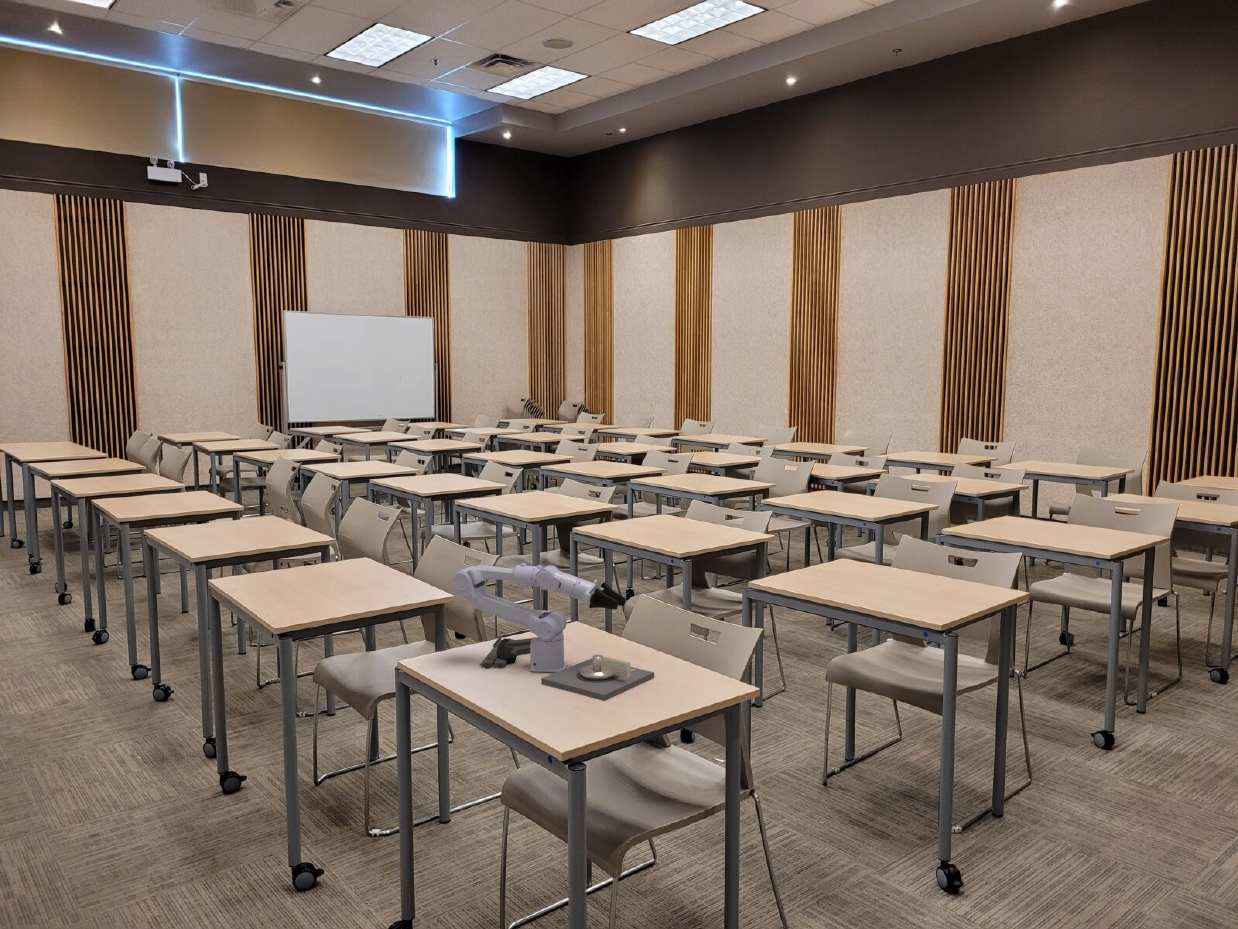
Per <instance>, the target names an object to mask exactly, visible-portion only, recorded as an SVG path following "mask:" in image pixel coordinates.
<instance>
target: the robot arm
mask: <svg viewBox="0 0 1238 929" xmlns="http://www.w3.org/2000/svg"><path fill="white" fill-rule="evenodd" d="M486 580H495V581H496V580H497V581H498V580H499V581H512V582H513V583H514V584H515V585H516V586H524V587H525V586H526V587H536V588H537V587H539V588H540V590H542V591H548V590H553V591H555V592H558V593H559V594H563V595H565V596H567V597H570V598H573V599H575V600H579V601H581V602H585V603H586V604H588V605H589V606H588V607H589V608H590V609H596V608H599V609H608V610H618V607H619V606H620V607H624V606H625V604H626V602H627V598H626V597H625V596H623V595H622V594H619V593H618V592H616V591H615V590H614V589H613V588H612V587H611V586H610V585H609V584H607V583H606V584H604V586H603V587H601V586H599V584H598V583H599V580H598V579H594V580H593V582H591V581H588V580H587V579H586V580H585V579H583V578H581V577H577V576H575V575H572V574H569V573H566V572H564V571H560V569H559V568H558V567H556V566H554V565H551V564H549V565H546V566H544V567H543V566H542V564H538V565H537V566H535V565H527V563H525V562H522V563H520V564H518V565H517V566H515V567H514V568H509V567H502V566H493V565H487V564H478V565H477V564H470V565H469V566H468V567H466V568H463V569H461V570H457V571H456V572H454V573H453V575H452V577H451V584H452V587H453V590H454V592H455V594H458V595H460V596H461V597H463V599H464V600H465V602H466V601H467V603H468V604H469V605H471V607H472V608H474V609H476V610H479V611H480V612H481V611H482V612H485V613H487V614H491V615H493V616H496V617H499V618H501V619H504V620H507V621H510V622H513V623H516V624H519V625H521V626H524V627H527V628H528V630H529V632H530V633H532V634H533V635H535V637H531V638H532V640H531V645H530V654H529V658H530V659H529V660H530V662H529V664H530V669H529V672H535V673H537V672H538V673H556V672H558V671H561V670H564V669H566V667H567V666H568V664H569V662H566V661H565V642H564V641H565V635H564V630H565V629H566V627H567V624H568V623H567V618H566V616H565V615H564V613H562V612H561V611H558V610H553V611H549V610H547V609H546V610H545V609H540V610H539V609H533V608H531V607H529V606H526V605H522V604H520V603H517V602H514V601H510V600H508V599H505V598H503V597H500V596H497V595H494V594H490V593H488V590H487V581H486Z"/></svg>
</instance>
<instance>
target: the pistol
mask: <svg viewBox="0 0 1238 929" xmlns="http://www.w3.org/2000/svg"><path fill="white" fill-rule="evenodd" d="M502 638H503V637H498V638H497V639H496V641H494V643H493V644H492V649H491V650H490V652H489V653H488V654H487V655H486V657H485V658H483V660H482V661H481V663H479V664H478V665H479V666H481V669H482V668H484V669H487V670H489V669H493V668H494V669H505V668H506V666H508V665H513V664H514V665H515V663H516V662H517V657H518V656H524V655H530V645H531V640H532V638H533V637H531V638H530V637H529V638H520V639H513V638H512V639H511V638H503V639H502ZM501 639H502V640H501Z"/></svg>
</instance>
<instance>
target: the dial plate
mask: <svg viewBox="0 0 1238 929" xmlns="http://www.w3.org/2000/svg"><path fill="white" fill-rule="evenodd" d="M587 665H593V657H591V658H589V659H587V660H584V661H581V662H580V663H576V664H574V665H572V666H569V667H567V668H565V669H564V670H561V671H558V672H552V673H551V674H548V675H546V676H544V677H541V679H540V680H541V681H540V682H541V684H542V685H544V686H545V685H546V686H547V687H548V686H549V687H552V688H555V689H556V688H557V689H560V690H563V691H567V692H571V693H575V694H579V695H582V696H586V697H589V698H593V699H597V700H601V701H605V702H606V701H607V700H609V699H611V698H613V697H615V696H618V695H620V694H622V693H625V692H627V691H628V690H631V689H632V688H635V687H637V686H639V685H642V684H643V683H646V682H648V681H650V680H652V679H654V678H655V672H654V671H650V670H646V669H642V668H638V667H634V666H630V677H628V678H624V677H620V676H614V677H612V678H609V679H604V680H590V679H586V678H583V677H581V676H580V669H581V668H582V667H584V666H587Z"/></svg>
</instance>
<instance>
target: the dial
mask: <svg viewBox="0 0 1238 929" xmlns="http://www.w3.org/2000/svg"><path fill="white" fill-rule="evenodd" d="M592 658H593V665H587V666H584V667H582V668H581V669H580V676H581V677H583V678H586V679H590V680H604V679H609V678H612V677H614V676H620V677H624V678H628V677H630V667H631V662H629V661H624V660H620V659H617V658H611V657H607V656H604V655H602V654H595V655H594V654H593V655H592Z"/></svg>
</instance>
